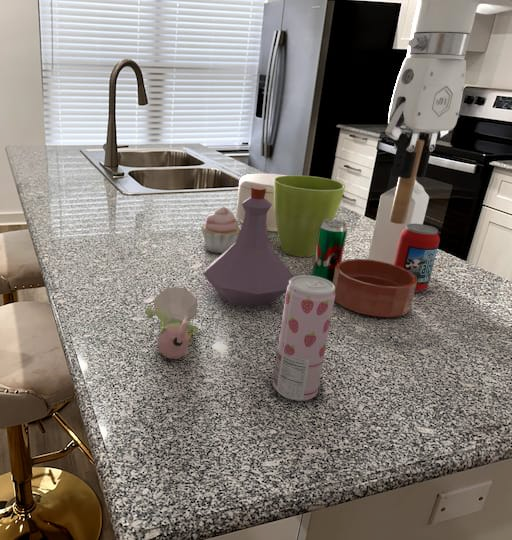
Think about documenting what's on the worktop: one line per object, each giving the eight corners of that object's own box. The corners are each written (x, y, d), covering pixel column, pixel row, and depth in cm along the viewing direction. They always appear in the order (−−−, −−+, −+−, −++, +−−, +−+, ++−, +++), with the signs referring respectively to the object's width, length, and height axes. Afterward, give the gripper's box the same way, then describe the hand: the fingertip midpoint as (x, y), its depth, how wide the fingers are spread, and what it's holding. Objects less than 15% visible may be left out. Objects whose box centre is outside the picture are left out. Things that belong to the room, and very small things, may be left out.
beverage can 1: (326, 392, 66) (347, 286, 60) (297, 407, 63) (316, 297, 57) (292, 372, 70) (308, 270, 65) (263, 385, 67) (277, 279, 62)
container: (300, 216, 144) (306, 175, 140) (306, 236, 128) (314, 189, 123) (236, 211, 147) (240, 170, 143) (234, 229, 130) (238, 184, 126)
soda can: (342, 281, 101) (353, 223, 96) (329, 288, 98) (340, 228, 93) (318, 274, 104) (328, 217, 100) (305, 280, 101) (315, 221, 96)
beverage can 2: (409, 296, 96) (424, 235, 91) (381, 282, 101) (394, 224, 97) (434, 291, 98) (450, 231, 94) (405, 278, 104) (419, 221, 99)
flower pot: (287, 236, 127) (296, 172, 121) (344, 253, 117) (357, 183, 111) (252, 249, 117) (260, 180, 111) (311, 268, 107) (323, 193, 101)
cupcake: (206, 257, 111) (209, 212, 107) (194, 243, 119) (196, 201, 116) (246, 255, 113) (251, 211, 109) (231, 242, 121) (236, 200, 118)
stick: (402, 220, 84) (420, 139, 79) (407, 224, 82) (427, 141, 77) (387, 219, 84) (404, 138, 79) (392, 223, 82) (410, 140, 77)
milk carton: (366, 262, 112) (384, 175, 105) (381, 255, 116) (399, 171, 109) (399, 271, 107) (420, 181, 100) (413, 264, 112) (434, 177, 105)
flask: (309, 298, 93) (328, 190, 86) (258, 327, 82) (274, 205, 75) (236, 272, 104) (246, 173, 96) (182, 294, 93) (189, 185, 85)
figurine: (142, 307, 83) (134, 360, 70) (160, 269, 80) (155, 318, 67) (190, 326, 84) (191, 383, 71) (210, 290, 81) (215, 342, 68)
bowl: (393, 290, 98) (400, 261, 96) (421, 322, 86) (429, 290, 83) (323, 285, 99) (328, 256, 96) (340, 317, 87) (347, 284, 84)
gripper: (421, 45, 67) (390, 184, 74) (497, 51, 74) (463, 178, 80) (375, 45, 73) (351, 174, 80) (450, 51, 80) (422, 169, 87)
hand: (407, 175), depth 80 cm, fingers closed on stick, 2 cm apart
